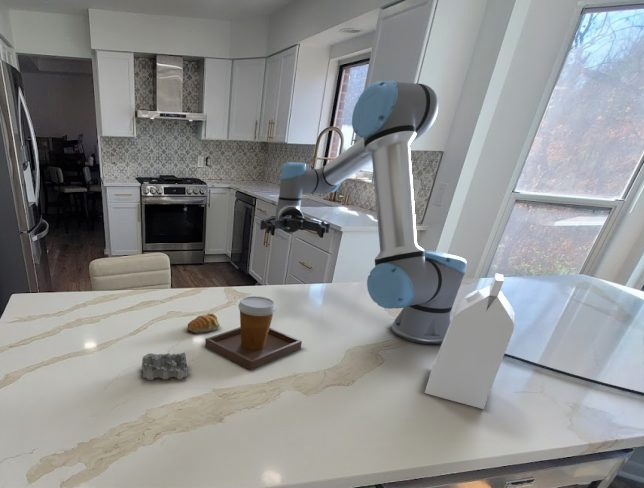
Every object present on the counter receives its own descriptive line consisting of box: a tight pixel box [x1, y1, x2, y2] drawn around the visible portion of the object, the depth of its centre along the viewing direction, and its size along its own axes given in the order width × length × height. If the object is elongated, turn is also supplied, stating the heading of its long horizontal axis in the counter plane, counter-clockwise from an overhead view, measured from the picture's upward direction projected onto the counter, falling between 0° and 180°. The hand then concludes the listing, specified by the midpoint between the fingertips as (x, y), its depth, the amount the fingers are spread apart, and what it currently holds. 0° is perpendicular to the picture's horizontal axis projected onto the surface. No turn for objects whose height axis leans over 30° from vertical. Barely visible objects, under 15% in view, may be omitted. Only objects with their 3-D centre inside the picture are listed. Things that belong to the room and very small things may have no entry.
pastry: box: [186, 313, 221, 334], centre depth 124 cm, size 9×7×4 cm
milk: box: [424, 273, 516, 410], centre depth 92 cm, size 12×12×26 cm
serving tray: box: [204, 326, 303, 371], centre depth 114 cm, size 17×20×2 cm
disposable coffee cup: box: [237, 295, 277, 350], centre depth 111 cm, size 10×10×12 cm
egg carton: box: [141, 352, 189, 381], centre depth 100 cm, size 11×8×4 cm
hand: (297, 231), depth 120 cm, fingers open, 13 cm apart
